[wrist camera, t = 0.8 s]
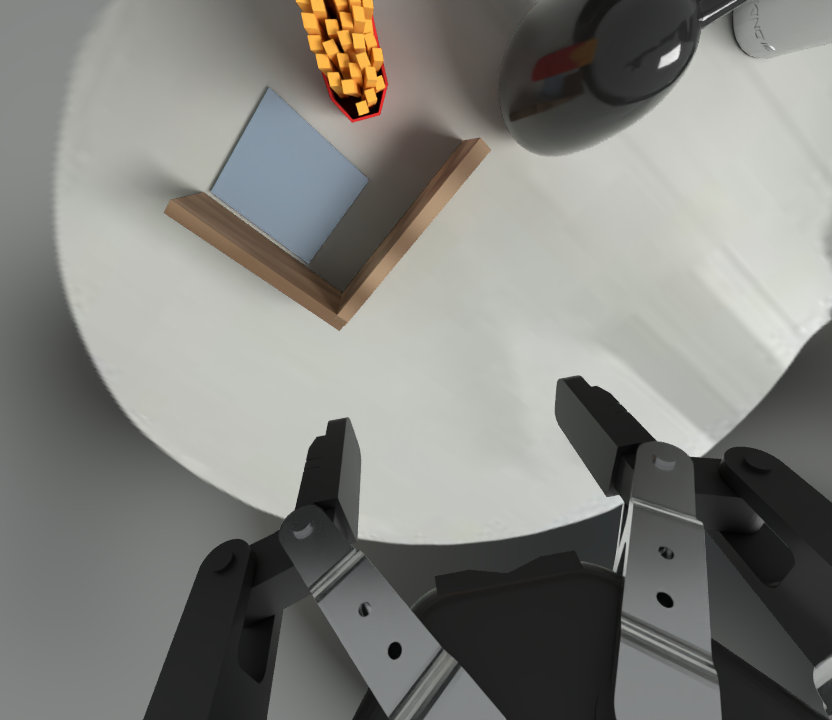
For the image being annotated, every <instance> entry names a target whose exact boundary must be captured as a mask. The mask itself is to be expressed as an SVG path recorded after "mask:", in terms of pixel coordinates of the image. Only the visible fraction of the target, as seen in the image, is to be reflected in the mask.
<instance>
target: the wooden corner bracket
mask: <svg viewBox="0 0 832 720" xmlns="http://www.w3.org/2000/svg"><path fill="white" fill-rule="evenodd" d="M490 151H491V149H490V148H489V147H488V146H487V145H486V143H485V142H484V141H483V140H482V139H481V138H476V139H469V140H463V141H462V142H461V143H460V145H459V146H458V147H457V148H456V150H455V151H454V152H453V153H452V155H451V156H450V157H449V159H448V160H447V161H446V162H445V164H444V165H443V166H442V167H441V169H440V170H439V171H438V172H437V174H436V175H435V176H434V177H433V179H432V180H431V181H430V183H429V184H428V185H427V186H426V188H425V189H424V190H423V191H422V193H421V194H420V195H419V196H418V198H417V199H416V200H415V201H414V203H413V204H412V205H411V207H410V208H409V209H408V210H407V212H406V213H405V214H404V215H403V217H402V218H401V219H400V220H399V222H398V223H397V224H396V225H395V227H394V228H393V229H392V231H391V232H390V233H389V234H388V236H387V237H386V238H385V239H384V241H383V242H382V243H381V244H380V246H379V247H378V248H377V249H376V251H375V252H374V253H373V255H372V256H371V257H370V258H369V260H368V261H367V262H366V263H365V265H364V266H363V267H362V268H361V270H360V271H359V272H358V273H357V275H356V276H355V277H354V278H353V280H352V281H351V282H350V284H349V285H348V286H347V287H346V289H345V290H344V291H343V292H342V293H341V292H340V291H339V290H337V289H336V288H334V287H333V286H332V285H330V284H329V283H328V282H326V281H325V280H323V279H322V278H321V277H319V276H318V275H317V274H315V273H314V272H312V271H311V270H310V269H308V268H307V267H306V266H304V265H303V264H302V263H300V262H299V261H297V260H296V259H295V258H293V257H292V256H291V255H289V254H288V253H286V252H285V251H284V250H282V249H281V248H280V247H278V246H277V245H275V244H274V243H273V242H271V241H270V240H269V239H267V238H266V237H264V236H263V235H262V234H260V233H259V232H258V231H256V230H255V229H253V228H252V227H251V226H249V225H248V224H247V223H245V222H244V221H242V220H241V219H240V218H238V217H237V216H236V215H234V214H233V213H232V212H230V211H229V210H227V209H226V208H225V207H223V206H222V205H221V204H219V203H218V202H216V201H215V200H214V199H212V198H211V197H210V196H208V195H207V194H205V193H204V192H203V193H199V194H194V195H189V196H185V197H180V198H176V199H171V200H170V202H169V204H168V205H167V207H166V209H165V211H164V213H165V214H166V215H168V216H169V217H171V218H172V219H174V220H175V221H177V222H178V223H180V224H181V225H183V226H184V227H186V228H187V229H189V230H190V231H192V232H193V233H195V234H196V235H198V236H199V237H201V238H202V239H204V240H205V241H207V242H208V243H209V244H211V245H212V246H214V247H215V248H217V249H218V250H220V251H221V252H223V253H224V254H226V255H227V256H229V257H230V258H232V259H233V260H235V261H236V262H238V263H239V264H241V265H242V266H244V267H245V268H247V269H248V270H250V271H251V272H253V273H254V274H256V275H257V276H259V277H260V278H262V279H263V280H265V281H266V282H268V283H269V284H270V285H272V286H273V287H275V288H276V289H278V290H279V291H281V292H282V293H284V294H285V295H287V296H288V297H290V298H291V299H293V300H294V301H296V302H297V303H299V304H300V305H302V306H303V307H305V308H306V309H308V310H309V311H311V312H312V313H314V314H315V315H317V316H318V317H320V318H321V319H323V320H324V321H326V322H327V323H329V324H330V325H331V326H333V327H334V328H336V329H337V330H339V331H340V330H341V329H342V327H343V326H345V325H346V324H347V323H348V322H349V321H350V319H351V318H352V317H353V316H354V315H355V313H356V312H357V311H358V310H359V309H360V307H361V306H362V305H363V304H364V303H365V301H366V300H367V299H368V298H369V297H370V295H371V294H372V293H373V292H374V290H375V289H376V288H377V287H378V286H379V284H380V283H381V282H382V281H383V280H384V278H385V277H386V276H387V275H388V274H389V272H390V271H391V270H392V269H393V268H394V266H395V265H396V264H397V263H398V262H399V260H400V259H401V258H402V257H403V256H404V254H405V253H406V252H407V251H408V250H409V248H410V247H411V246H412V245H413V243H414V242H415V241H416V240H417V239H418V237H419V236H420V235H421V234H422V233H423V231H424V230H425V229H426V228H427V227H428V225H429V224H430V223H431V222H432V221H433V219H434V218H435V217H436V216H437V215H438V213H439V212H440V211H441V210H442V209H443V207H444V206H445V205H446V204H447V203H448V201H449V200H450V199H451V198H452V197H453V195H454V194H455V193H456V192H457V190H458V189H459V188H460V187H461V186H462V184H463V183H464V182H465V181H466V180H467V178H468V177H469V176H470V175H471V174H472V172H473V171H474V170H475V169H476V168H477V166H478V165H479V164H480V163H481V162H482V160H483V159H484V158H485V157H486V156H487V154H488V153H489V152H490Z"/></svg>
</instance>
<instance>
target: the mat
mask: <svg viewBox="0 0 832 720" xmlns="http://www.w3.org/2000/svg"><path fill="white" fill-rule="evenodd" d="M368 181H369V179H368V178H367V177H366V176H365V175H364V174H363V173H361V172H360V171H359V170H358V169H357V168H356V167H355V166H354V165H353V164H352V163H351V162H350V161H349V160H347V159H346V158H345V157H344V156H343V155H342V154H341V153H340V152H339V151H338V150H337V149H336V148H334V147H333V146H332V145H331V144H330V143H329V142H328V141H327V140H326V139H325V138H324V137H323V136H322V135H320V134H319V133H318V132H317V131H316V130H315V129H314V128H313V127H312V126H311V125H310V124H309V123H307V122H306V121H305V120H304V119H303V118H302V117H301V116H300V115H299V114H298V113H297V112H296V111H295V110H293V109H292V108H291V107H290V106H289V105H288V104H287V103H286V102H285V101H284V100H283V99H282V98H280V97H279V96H278V95H277V94H276V93H275V92H274V91H273V90H272V89H271V88H270V87H269V88H268V90H267V92H266V94H265V95H264V97H263V99H262V101H261V103H260V104H259V106H258V108H257V110H256V112H255V113H254V115H253V117H252V119H251V121H250V122H249V124H248V126H247V128H246V130H245V131H244V133H243V135H242V137H241V138H240V140H239V142H238V144H237V146H236V147H235V149H234V151H233V153H232V155H231V156H230V158H229V160H228V162H227V164H226V165H225V167H224V169H223V171H222V173H221V174H220V176H219V178H218V180H217V182H216V183H215V185H214V187H213V189H212V190H211V193H213V194H214V195H215V196H217V197H218V198H219V199H221V200H222V201H224V202H225V203H226V204H228V205H229V206H230V207H232V208H233V209H234V210H236V211H237V212H238V213H240V214H241V215H243V216H244V217H245V218H247V219H248V220H249V221H251V222H252V223H253V224H255V225H256V226H258V227H259V228H260V229H262V230H263V231H264V232H266V233H267V234H268V235H270V236H271V237H272V238H274V239H275V240H277V241H278V242H279V243H281V244H282V245H283V246H285V247H286V248H287V249H289V250H290V251H292V252H293V253H294V254H296V255H297V256H298V257H300V258H301V259H302V260H304V261H305V262H307V263H308V264H309V262H310V261H311V260H312V258H313V257H314V256H315V254H316V253H317V251H318V250H319V249H320V247H321V246H322V245H323V243H324V242H325V240H326V239H327V238H328V236H329V235H330V233H331V232H332V231H333V229H334V228H335V227H336V225H337V224H338V222H339V221H340V220H341V218H342V217H343V216H344V214H345V213H346V211H347V210H348V209H349V207H350V206H351V204H352V203H353V202H354V200H355V199H356V198H357V196H358V195H359V193H360V192H361V191H362V189H363V188H364V186H365V185H366V184H367V182H368Z"/></svg>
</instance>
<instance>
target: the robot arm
mask: <svg viewBox="0 0 832 720" xmlns="http://www.w3.org/2000/svg"><path fill="white" fill-rule="evenodd" d="M733 26H734V32H735V36H736V40H737V42H738V43H739V45H740V47H741V48H742V50H744V51H745V52H746V53H747V54H748V55H750V56H753V57H756V58H771V57H775V56H779V55H783V54H787V53H791V52H795V51H800V50H804V49H808V48H812V47H816V46H821V45H826V44H830V43H832V0H748V1H747V2H745V3H744V4H742V5H740V6H739V7H737V8H736V9H734V10H733ZM555 416H556V420H557V422H558V425H559V426H560V428H561V429H562V431H563V432H564V434H565V435H566V437H567V438H568V440H569V441H570V443H571V444H572V446H573V447H574V449H575V450H576V452H577V453H578V455H579V456H580V458H581V459H582V461H583V462H584V464H585V465H586V467H587V468H588V470H589V471H590V473H591V474H592V476H593V477H594V479H595V480H596V482H597V483H598V485H599V486H600V488H601V489H602V491H603V492H604V494H605V495H606V497H610V496H616V495H620V496H621V498H622V499H623V501H624V503H623V507H622V515H621V522H620V529H619V537H618V544H617V551H616V558H615V563H614V568H613V571H611V570H609V569H607V568H604V567H602V566H599V565H595V564H592V563H587V562H580V560H579V558H578V556H577V554H576V552H575V551H574V550H573V551H567V552H562V553H557V554H552V555H546V556H541V557H539V558H537V559H535V560H533V561H531V562H529V563H527V564H525V565H523V566H521V567H519V568H517V569H515V570H514V571H511V572H509V573H499V572H487V571H476V570H466V571H461V572H456V573H450V574H445V575H439V576H435V581H436V588H434V589H432V590H430V591H429V592H428V593H426V594H425V595H423V596H422V597H421V598H420V599H419V600H418V601H417V602H416V603H415V604H414V605H413V606H412V607H411V608H410V609H409V607H408V606H407V605H406V604H405V603H404V601H403V600H402V599H401V598H400V597H399V595H398V594H397V593H396V592H395V591H394V589H393V588H392V587H391V586H390V585H389V584H388V583H387V581H386V580H385V579H384V578H383V576H382V575H381V574H380V573H379V572H378V570H377V569H376V568H375V567H374V566H373V565H372V563H371V562H370V561H369V560H368V558H367V557H366V556H365V555H364V554H363V553H362V552H361V551H360V550H358V551H356V550H355V549H354V547H353V546H352V545H351V543H357V535H358V515H359V494H360V474H361V454H360V448H359V445H358V442H357V439H356V436H355V433H354V430H353V427H352V424H351V421H350V419H349V418H348V417H347V418H342V419H336V420H331V421H329V422H328V425H327V430H326V435H325V436H319V437H316V439H315V440H314V442H313V443H312V444H311V446H310V447H309V450H308V454H307V459H306V461H307V462H306V463H305V467H304V472H303V476H302V481H301V485H300V489H299V494H298V498H297V503H296V507H295V510H294V511H293V512H291V513H290V514H289V515H288V516H287V517H286V518H285V520H284V521H283V522H282V524H281V527H280V529H279V530H278V531H277V532H275V533H274V534H272V535H270V536H268V537H266V538H264V539H261V540H260V541H258V542H255V543H253V544H251V545H248V543H247V542H245V541H244V540H241V539H233V540H229V541H226V542H224V543H222V544H220V545H219V546H217V547H216V548H215V549H214V550H212V551H211V552H210V554H208V556H207V557H206V558H205V559H204V561H203V562H202V564H201V566H200V568H199V571H198V573H197V576H196V579H195V581H194V584H193V587H192V589H191V593H190V595H189V598H188V600H187V603H186V606H185V609H184V611H183V614H182V616H181V619H180V622H179V625H178V627H177V630H176V633H175V635H174V638H173V641H172V643H171V646H170V649H169V651H168V654H167V657H166V660H165V662H164V665H163V668H162V670H161V673H160V676H159V679H158V681H157V684H156V687H155V689H154V692H153V695H152V697H151V700H150V703H149V705H148V708H147V711H146V714H145V716H144V719H143V720H267V713H268V707H269V701H270V694H271V687H272V680H273V674H274V667H275V661H276V654H277V647H278V641H279V634H280V628H281V622H282V615H283V609H285V608H287V607H288V606H290V605H292V604H294V603H296V602H297V601H299V600H301V599H303V598H305V597H306V596H308V595H310V594H312V595H313V597H314V598H315V600H316V602H317V603H318V605H319V606H320V608H321V610H322V611H323V613H324V614H325V616H326V618H327V619H328V621H329V623H330V624H331V626H332V628H333V629H334V630H335V632H336V634H337V635H338V637H339V639H340V640H341V642H342V644H343V645H344V647H345V649H346V650H347V652H348V653H349V655H350V657H351V658H352V660H353V661H354V663H355V665H356V666H357V668H358V670H359V671H360V673H361V674H362V676H363V677H364V679H365V681H366V683H367V684H368V686H369V687H368V689H367V691H366V693H365V695H364V697H363V699H362V701H361V703H360V705H359V707H358V709H357V711H356V713H355V715H354V717H353V719H352V720H829V719H828V718H826V717H825V716H824V715H822V714H821V713H819V712H818V711H816V710H815V709H814V708H812V707H811V706H809V705H808V704H806V703H805V702H804V701H802V700H801V699H799V698H798V697H796V696H795V695H794V694H792V693H791V692H789V691H787V690H786V689H785V688H783V687H782V686H780V685H779V684H778V683H776V682H775V681H773V680H772V679H770V678H769V677H768V676H766V675H765V674H763V673H762V672H760V671H759V670H757V669H756V668H755V667H753V666H752V665H750V664H749V663H747V662H746V661H744V660H743V659H742V658H740V657H738V656H737V655H736V654H734V653H733V652H731V651H730V650H729V649H727V648H726V647H724V646H723V645H721V644H720V643H718V642H717V641H716V640H714V639H713V638H711V636H710V620H709V603H708V587H707V571H706V554H705V538H704V530H706V531H707V533H708V534H709V535H710V536H711V538H712V539H713V540H714V542H715V543H716V544H717V545H718V547H719V548H720V549H721V550H722V552H723V553H724V554H725V555H726V557H727V558H728V559H729V560H730V562H731V563H732V564H733V565H734V567H735V568H736V569H737V570H738V572H739V573H740V574H741V575H742V577H743V578H744V579H745V580H746V582H747V583H748V584H749V585H750V587H751V588H752V589H753V591H754V592H755V593H756V594H757V595H758V597H759V598H760V599H761V601H762V602H763V603H764V604H765V605H766V607H767V608H768V609H769V611H770V612H771V613H772V614H773V616H774V617H775V618H776V619H777V621H778V622H779V623H780V624H781V626H782V627H783V628H784V629H785V631H786V632H787V633H788V634H789V636H790V637H791V638H792V639H793V641H794V642H795V643H796V644H797V645H798V647H799V648H800V649H801V651H802V652H803V653H804V654H805V655H806V657H807V658H808V659H809V660H810V662H811V663H812V664H813V666H814V667H815V669H814V673H813V678H814V683H815V686H816V689H817V691H818V693H819V695H820V697H821V699H822V700H823V702H824V704H823V705H824V709H825V711H826V713H827V715H828V716H829V717H830V719H831V720H832V503H831V502H830V501H829V500H828V499H826V498H825V497H824V496H823V495H822V494H820V493H819V492H818V491H817V490H816V489H814V488H813V487H812V486H811V485H809V484H808V483H807V482H806V481H805V480H803V479H802V478H801V477H800V476H799V475H797V474H796V473H795V472H793V471H792V470H791V469H790V468H789V467H788V466H786V465H785V464H784V463H783V462H781V461H780V460H779V459H777V458H775V457H774V456H772V455H770V454H768V453H766V452H764V451H761V450H758V449H754V448H749V447H733V448H730V449H728V450H727V451H726V452H725V453H724V456H723V458H722V459H713V458H712V459H711V458H699V457H689V456H688V455H687V454H686V453H685V452H684V451H683V450H681V449H680V448H678V447H676V446H674V445H671V444H668V443H665V442H658V441H656V440H655V439H654V438H653V437H652V436H651V435H650V434H649V433H648V432H647V430H646V429H645V428H644V427H643V426H642V425H641V424H640V423H639V422H638V421H637V420H636V419H635V418H634V417H633V416H632V415H631V414H630V413H629V412H627V410H626V409H625V408H624V407H623V406H622V405H620V404H619V402H618V401H617V400H616V399H615V398H614V397H613V395H612V394H611V393H609V392H607V391H605V390H603V389H602V388H600V387H598V386H593V387H591V386H590V385H589V384H588V383H587V382H586V381H585V380H584V379H583V378H582V377H581V376H579V375H578V376H572V377H567V378H561V379H558V381H557V387H556V401H555ZM764 522H765V523H766V524H767V525H768V526H769V527H770V528H771V529H772V530H773V531H774V532H775V533H776V534H777V535H778V536H779V537H780V538H781V539H782V540H783V541H784V542H785V543H786V544H787V545H788V547H789V548H790V549H789V548H788V547H787V546H786V545H785V544H784V543H783V542H782V541H781V540H780V539H779V538H778V537H777V536H776V535H775V534H774V533H773V532H772V530H771V529H769V527H768V526H767V525H766V524H765V523H764Z"/></svg>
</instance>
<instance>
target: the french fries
mask: <svg viewBox="0 0 832 720" xmlns="http://www.w3.org/2000/svg"><path fill="white" fill-rule="evenodd" d="M296 3H297V4H298V5H299V7H300V8H301V10H302V11H303V13H302V12H301V14H302V20H303V25H304V28H305V30H306V31H307V32H308V34H309V35H307V36H308V41H309V45H310V49H311V51H312V52H314V53H315V54H316V59H317V64H318V68H319V69H320V70H321V71H322V75H323V78H324V81H325V84H326V87H327V89H328V92H329V95H330V98H331V100H332V101H333V102H334V104H335V105H336V106H337V107H338V108H339V109H340V110H341V111H342V112H343V113H344V114H345V115H346V116H347V117H348V119H349V120H350V121H351V122H352V123H353V122H356V121H360V120H363V119H367V118H371V117H374V116H378V115H380V114H381V110H382V106H383V102H384V98H385V94H386V90H387V86H388V82H387V77H386V73H385V68H384V64H383V54H382V48H380V46H379V42H378V37H377V33H376V28H375V23H374V18H373V9H374V8H373V1H372V0H296Z"/></svg>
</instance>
